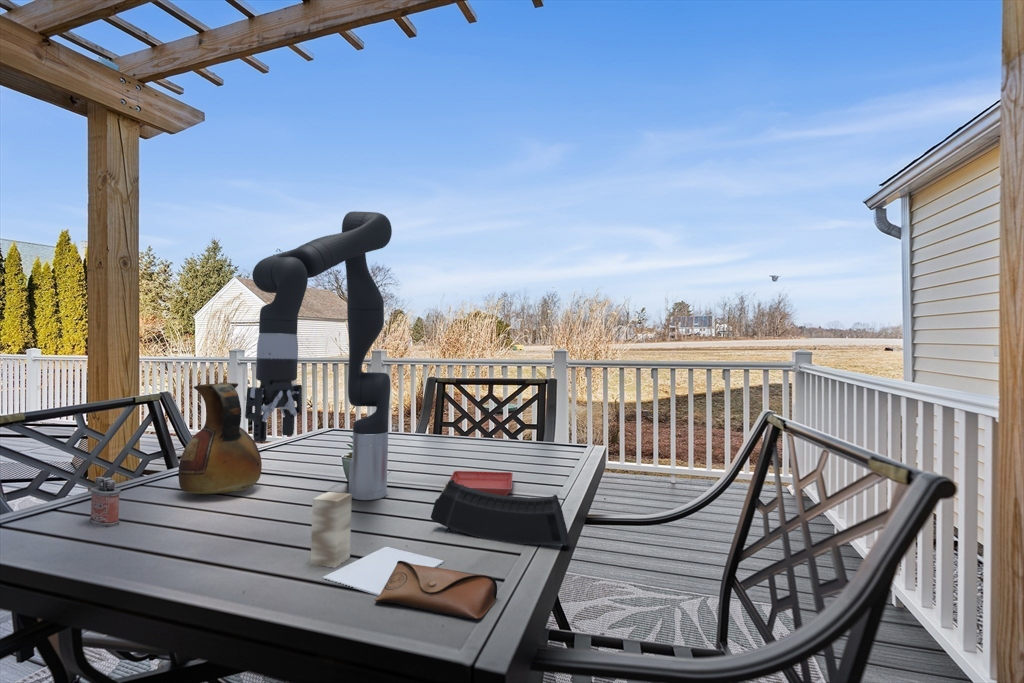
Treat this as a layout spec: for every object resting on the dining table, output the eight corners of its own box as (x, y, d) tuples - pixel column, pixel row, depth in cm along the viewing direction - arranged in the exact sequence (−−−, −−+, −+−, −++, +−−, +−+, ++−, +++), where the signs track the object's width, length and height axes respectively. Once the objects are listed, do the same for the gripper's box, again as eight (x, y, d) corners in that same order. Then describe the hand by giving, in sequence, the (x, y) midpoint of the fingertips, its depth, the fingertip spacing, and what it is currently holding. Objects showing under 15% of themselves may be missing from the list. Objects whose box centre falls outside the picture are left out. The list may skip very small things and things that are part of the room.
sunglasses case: (370, 600, 79) (383, 554, 82) (388, 605, 85) (399, 562, 88) (481, 620, 74) (490, 571, 78) (492, 624, 80) (500, 578, 83)
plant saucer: (511, 500, 139) (512, 487, 139) (445, 498, 139) (445, 486, 139) (512, 483, 157) (512, 472, 157) (453, 481, 157) (453, 470, 157)
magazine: (582, 503, 104) (455, 449, 114) (578, 508, 101) (449, 451, 111) (557, 580, 106) (434, 520, 116) (553, 587, 103) (427, 524, 113)
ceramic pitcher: (239, 479, 153) (242, 379, 153) (275, 491, 141) (278, 382, 142) (164, 493, 137) (168, 381, 137) (198, 508, 125) (202, 385, 126)
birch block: (310, 565, 93) (312, 498, 94) (326, 554, 98) (327, 491, 99) (335, 568, 92) (337, 501, 93) (349, 557, 97) (351, 493, 98)
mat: (322, 578, 88) (322, 577, 88) (385, 548, 102) (385, 546, 102) (386, 598, 82) (386, 596, 82) (444, 562, 96) (444, 560, 96)
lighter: (123, 524, 113) (125, 478, 113) (106, 528, 110) (107, 481, 110) (102, 518, 116) (104, 474, 117) (85, 522, 113) (86, 477, 113)
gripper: (270, 356, 95) (267, 444, 95) (314, 357, 109) (312, 434, 109) (235, 356, 97) (232, 442, 96) (283, 356, 111) (280, 432, 110)
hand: (274, 438), depth 102 cm, fingers open, 8 cm apart
